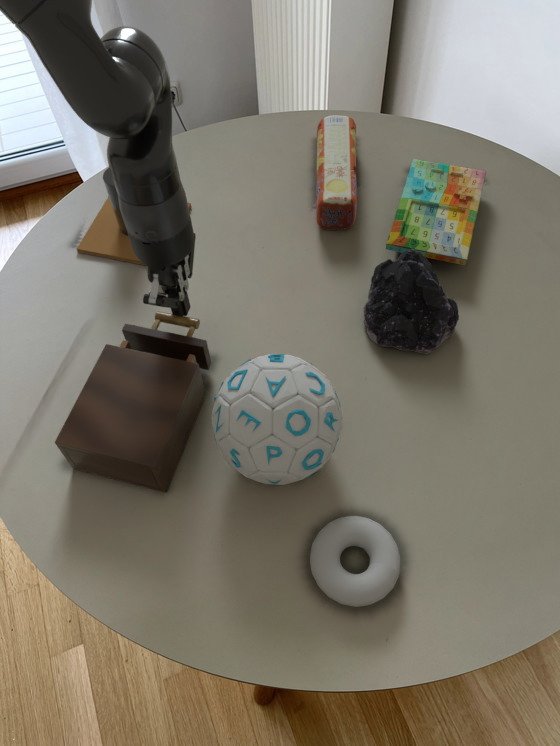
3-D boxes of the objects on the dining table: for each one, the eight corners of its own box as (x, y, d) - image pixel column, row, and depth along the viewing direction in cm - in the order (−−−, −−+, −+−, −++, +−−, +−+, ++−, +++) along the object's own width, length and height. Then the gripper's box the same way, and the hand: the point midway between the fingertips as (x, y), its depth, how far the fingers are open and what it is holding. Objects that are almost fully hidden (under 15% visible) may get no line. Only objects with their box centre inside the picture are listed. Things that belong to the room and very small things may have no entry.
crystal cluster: (427, 378, 87) (448, 332, 79) (340, 331, 91) (352, 282, 83) (465, 316, 94) (489, 268, 86) (383, 275, 98) (398, 225, 90)
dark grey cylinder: (113, 233, 103) (96, 183, 95) (126, 211, 106) (111, 160, 97) (144, 239, 102) (129, 188, 94) (156, 216, 105) (143, 165, 96)
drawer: (145, 323, 92) (137, 299, 88) (221, 339, 90) (216, 315, 86) (93, 429, 83) (81, 408, 79) (176, 449, 81) (168, 429, 77)
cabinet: (119, 374, 89) (105, 343, 83) (206, 393, 87) (198, 363, 81) (72, 468, 81) (54, 442, 75) (166, 492, 79) (155, 467, 73)
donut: (310, 521, 76) (309, 609, 71) (310, 510, 73) (309, 600, 68) (395, 523, 76) (401, 611, 70) (399, 511, 73) (405, 602, 67)
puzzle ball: (213, 502, 78) (195, 444, 65) (226, 395, 86) (212, 325, 74) (340, 507, 77) (346, 449, 65) (340, 398, 85) (346, 328, 73)
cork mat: (77, 252, 102) (76, 248, 101) (113, 193, 109) (112, 189, 109) (160, 268, 99) (159, 264, 99) (191, 206, 107) (190, 202, 106)
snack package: (356, 232, 102) (358, 199, 96) (313, 232, 102) (314, 199, 97) (354, 146, 114) (357, 112, 108) (316, 146, 114) (317, 112, 109)
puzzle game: (487, 166, 103) (468, 255, 92) (481, 189, 106) (461, 278, 96) (414, 153, 105) (386, 239, 95) (410, 177, 109) (383, 262, 98)
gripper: (147, 173, 79) (172, 271, 93) (103, 251, 72) (138, 344, 86) (206, 182, 77) (222, 280, 92) (166, 262, 70) (191, 355, 85)
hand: (181, 311), depth 89 cm, fingers closed
